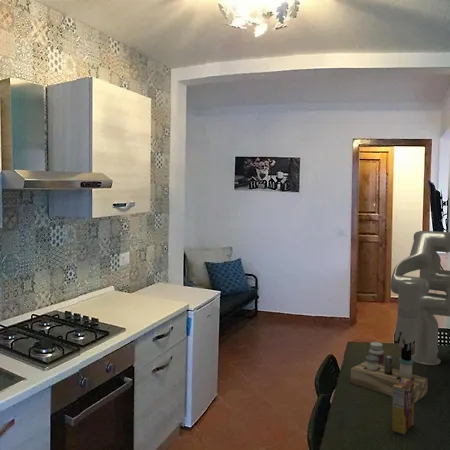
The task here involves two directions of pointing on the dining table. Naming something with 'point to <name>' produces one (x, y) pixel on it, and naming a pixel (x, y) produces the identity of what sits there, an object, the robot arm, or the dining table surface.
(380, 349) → the pill bottle
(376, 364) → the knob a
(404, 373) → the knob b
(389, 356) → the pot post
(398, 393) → the candy box
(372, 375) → the wooden holder block
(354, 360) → the dining table surface
